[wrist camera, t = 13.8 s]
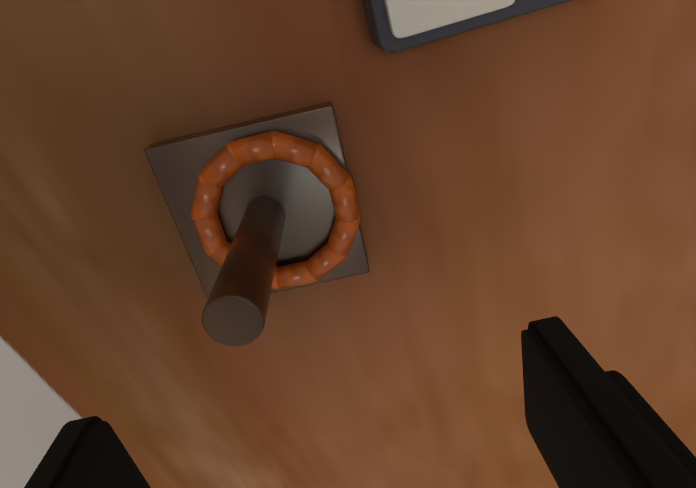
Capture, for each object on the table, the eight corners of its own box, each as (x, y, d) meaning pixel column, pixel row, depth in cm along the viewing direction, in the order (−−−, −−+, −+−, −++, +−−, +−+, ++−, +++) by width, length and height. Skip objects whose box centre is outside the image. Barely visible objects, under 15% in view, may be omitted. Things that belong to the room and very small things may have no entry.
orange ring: (227, 293, 24) (223, 306, 23) (170, 152, 21) (162, 159, 20) (370, 262, 24) (373, 274, 23) (337, 113, 20) (338, 118, 19)
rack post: (214, 296, 25) (155, 443, 16) (150, 144, 22) (27, 228, 13) (368, 263, 25) (393, 395, 16) (331, 101, 21) (338, 157, 12)
